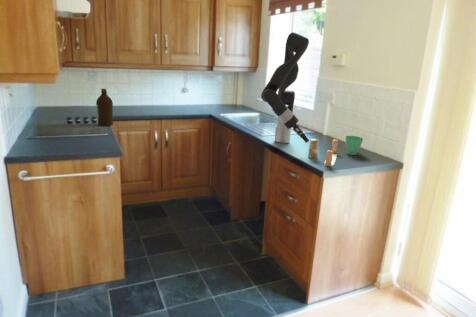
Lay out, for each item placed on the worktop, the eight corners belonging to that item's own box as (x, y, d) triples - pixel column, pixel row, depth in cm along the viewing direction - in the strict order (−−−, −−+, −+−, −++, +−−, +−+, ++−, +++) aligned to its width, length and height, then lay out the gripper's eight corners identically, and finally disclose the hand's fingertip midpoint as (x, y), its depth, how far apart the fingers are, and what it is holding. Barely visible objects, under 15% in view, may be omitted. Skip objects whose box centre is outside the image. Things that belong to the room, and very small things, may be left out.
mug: (360, 157, 210) (363, 140, 207) (343, 154, 213) (345, 138, 210) (360, 151, 224) (362, 135, 221) (343, 149, 226) (346, 133, 224)
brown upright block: (307, 157, 202) (309, 140, 200) (308, 155, 207) (310, 138, 204) (316, 159, 201) (318, 141, 198) (317, 156, 205) (319, 139, 203)
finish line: (322, 165, 189) (324, 151, 187) (329, 152, 217) (331, 139, 215) (332, 167, 188) (334, 152, 185) (338, 153, 216) (340, 140, 213)
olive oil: (114, 123, 258) (113, 88, 251) (112, 126, 248) (111, 89, 241) (98, 123, 256) (96, 87, 249) (96, 126, 246) (94, 89, 239)
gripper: (295, 115, 190) (314, 138, 193) (291, 111, 204) (309, 132, 207) (284, 125, 192) (303, 147, 195) (281, 120, 205) (299, 141, 209)
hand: (306, 139), depth 201 cm, fingers open, 8 cm apart
